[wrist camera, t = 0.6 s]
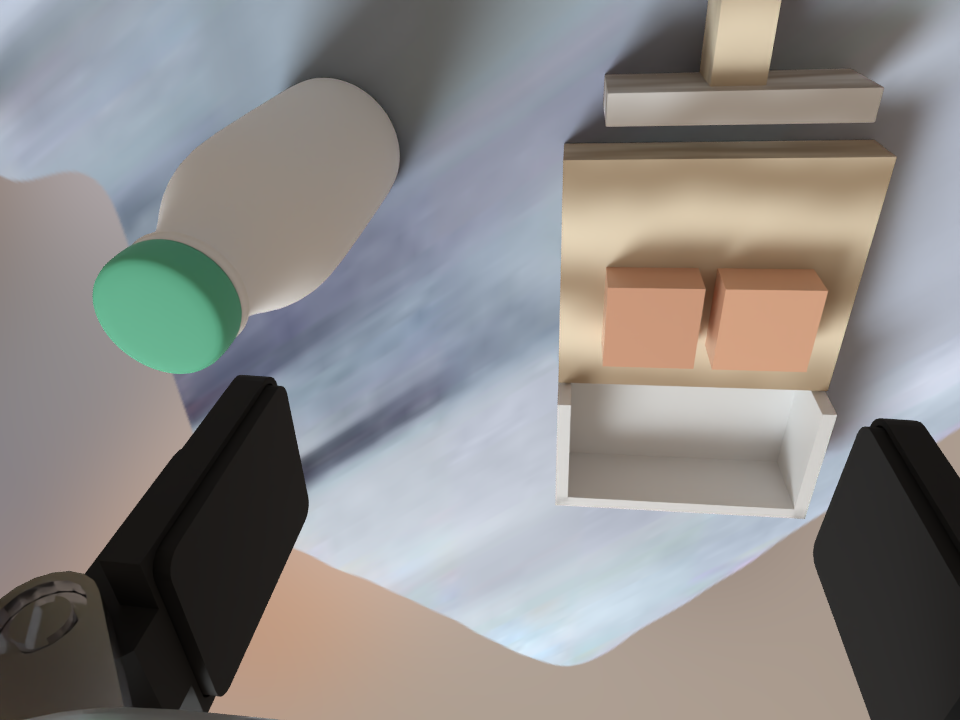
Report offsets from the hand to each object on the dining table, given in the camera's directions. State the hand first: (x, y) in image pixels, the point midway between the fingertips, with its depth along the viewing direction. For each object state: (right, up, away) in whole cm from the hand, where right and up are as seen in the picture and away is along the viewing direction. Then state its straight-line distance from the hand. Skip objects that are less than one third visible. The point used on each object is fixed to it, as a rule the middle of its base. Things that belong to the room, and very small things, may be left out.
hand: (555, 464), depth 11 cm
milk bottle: (-10, +14, +27) cm, 32 cm away
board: (+12, +8, +28) cm, 32 cm away
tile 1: (+14, +5, +26) cm, 30 cm away
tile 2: (+8, +5, +27) cm, 29 cm away
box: (+12, -2, +35) cm, 37 cm away
